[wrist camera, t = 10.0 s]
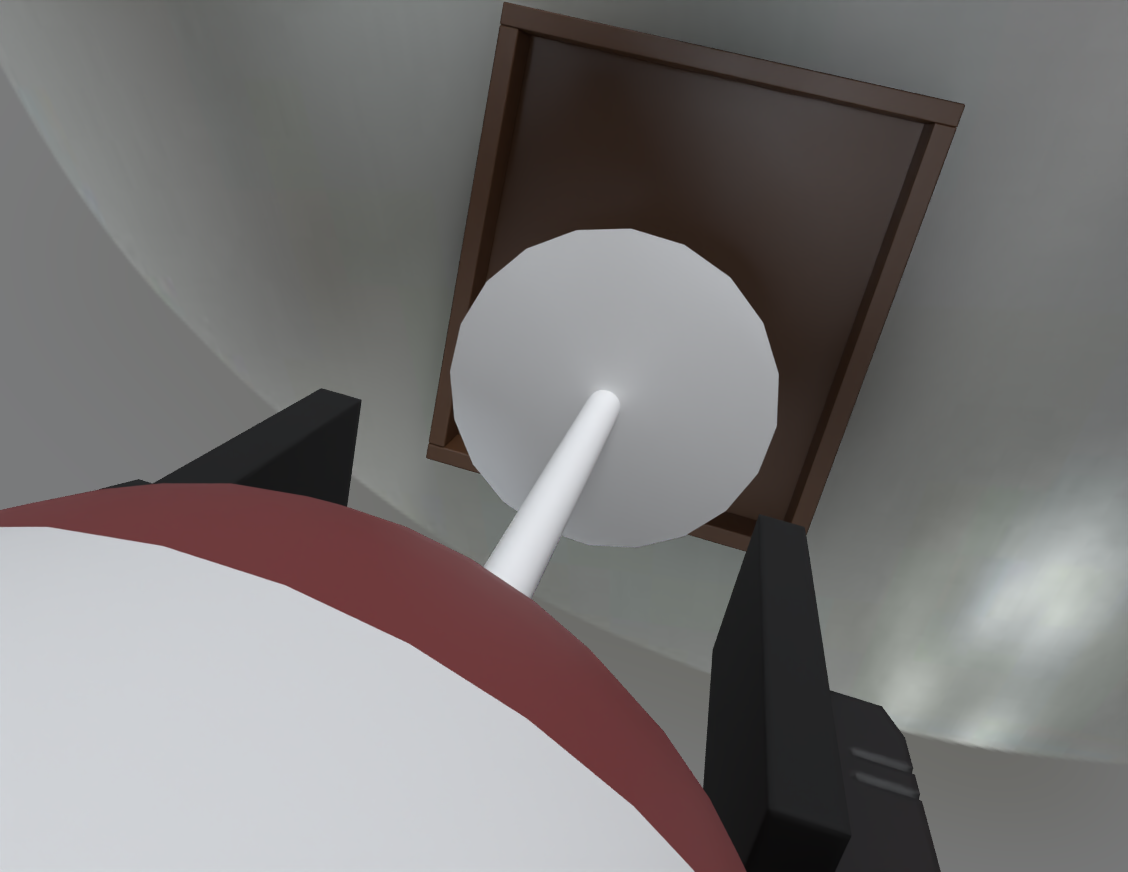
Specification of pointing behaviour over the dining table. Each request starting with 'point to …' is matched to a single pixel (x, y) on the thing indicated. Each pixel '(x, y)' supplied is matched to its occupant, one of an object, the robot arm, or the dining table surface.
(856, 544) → the dining table surface
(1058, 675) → the dining table surface
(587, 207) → the tray
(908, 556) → the dining table surface
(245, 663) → the wineglass
